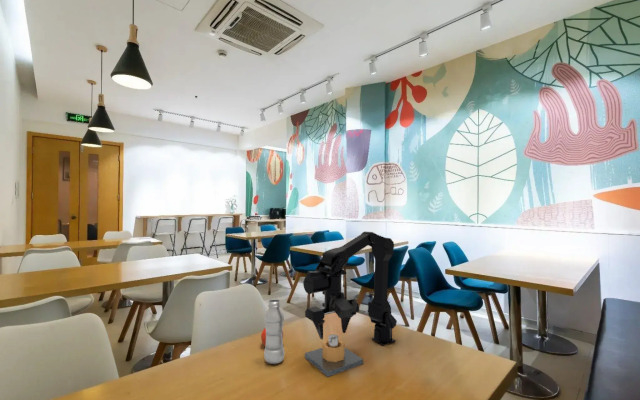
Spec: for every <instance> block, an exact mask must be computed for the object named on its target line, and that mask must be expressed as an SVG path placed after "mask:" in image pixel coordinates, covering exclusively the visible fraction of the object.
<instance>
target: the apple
mask: <svg viewBox="0 0 640 400" xmlns="http://www.w3.org/2000/svg"><path fill="white" fill-rule="evenodd" d="M283 338H284V331H282V339H283ZM260 339H261V342H262V344H263V345H264V346H265V345H266V328H263V330H262V332H261V335H260ZM283 340H284V339H283Z"/></svg>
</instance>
